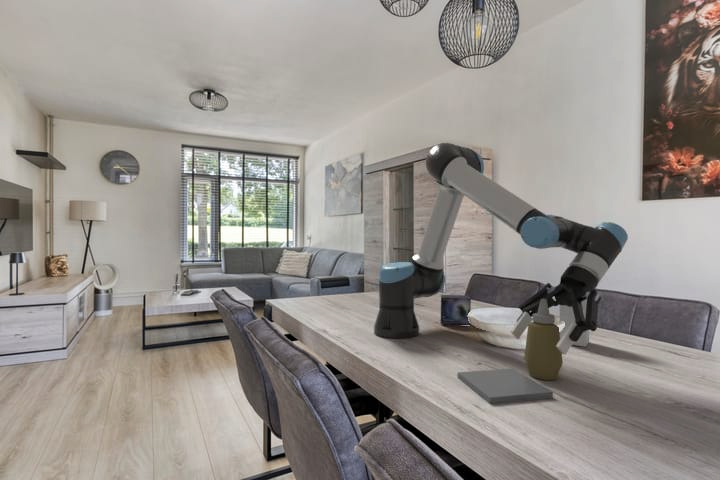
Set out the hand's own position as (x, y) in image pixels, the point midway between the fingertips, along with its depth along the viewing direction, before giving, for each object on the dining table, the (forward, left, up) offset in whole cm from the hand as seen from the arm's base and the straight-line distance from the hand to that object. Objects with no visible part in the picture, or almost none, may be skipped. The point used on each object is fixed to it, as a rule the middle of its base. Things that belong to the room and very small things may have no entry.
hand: (535, 342), depth 89 cm
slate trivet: (+4, -11, -8) cm, 14 cm away
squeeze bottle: (0, +2, -8) cm, 9 cm away
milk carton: (-23, +30, -8) cm, 39 cm away
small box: (-53, +5, -8) cm, 54 cm away
